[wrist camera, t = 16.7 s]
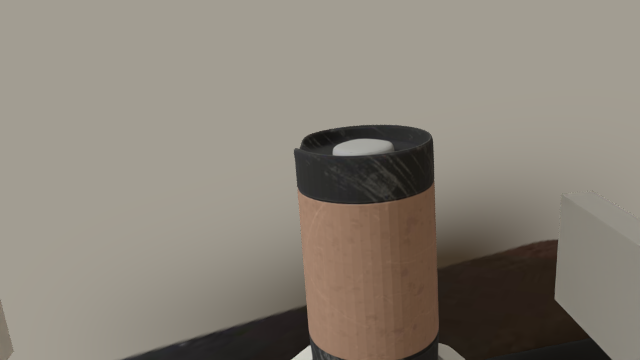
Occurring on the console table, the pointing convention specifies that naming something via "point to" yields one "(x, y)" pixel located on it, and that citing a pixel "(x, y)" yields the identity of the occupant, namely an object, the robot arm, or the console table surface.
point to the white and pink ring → (446, 354)
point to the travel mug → (369, 242)
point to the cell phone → (561, 352)
